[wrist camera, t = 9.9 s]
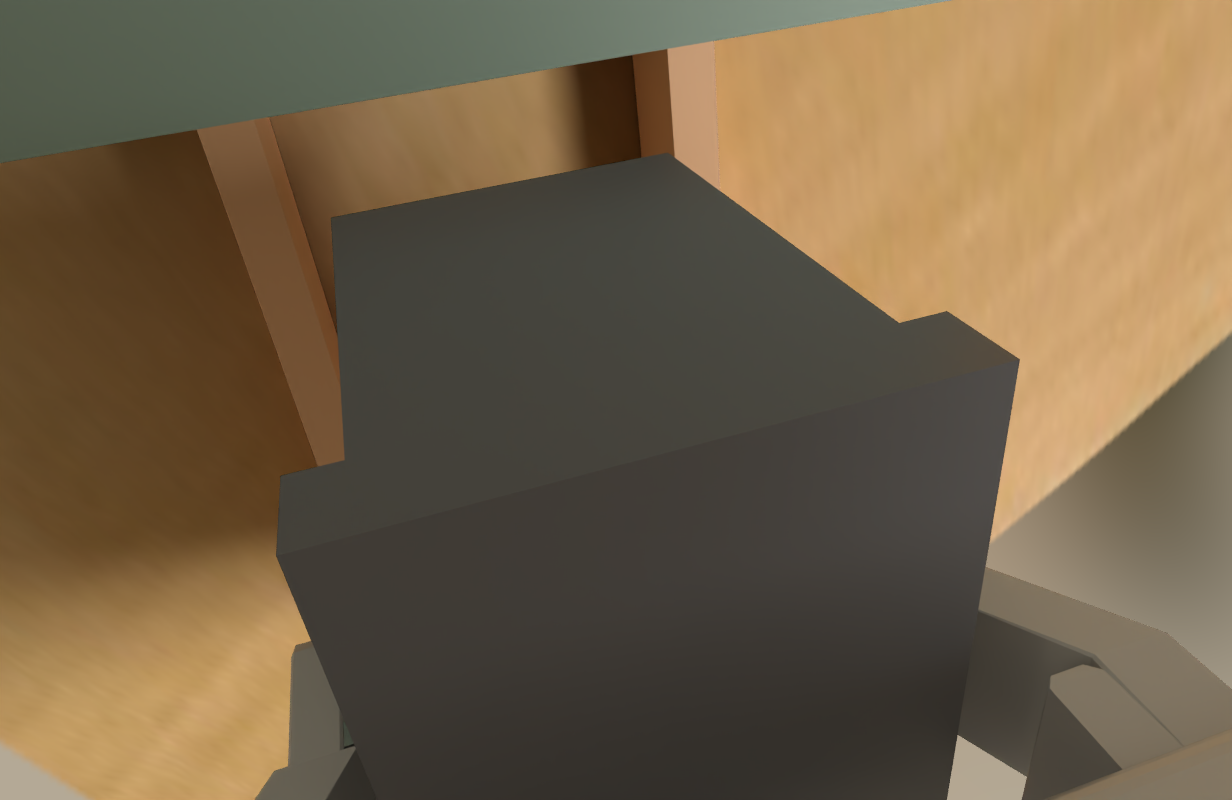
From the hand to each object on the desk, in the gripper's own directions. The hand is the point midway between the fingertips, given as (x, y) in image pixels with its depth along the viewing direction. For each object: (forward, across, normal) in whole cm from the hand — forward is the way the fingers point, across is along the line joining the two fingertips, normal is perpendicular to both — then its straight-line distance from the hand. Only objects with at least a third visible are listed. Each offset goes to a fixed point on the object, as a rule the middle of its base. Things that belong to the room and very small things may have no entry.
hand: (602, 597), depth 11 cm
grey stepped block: (+2, 0, 0) cm, 2 cm away
